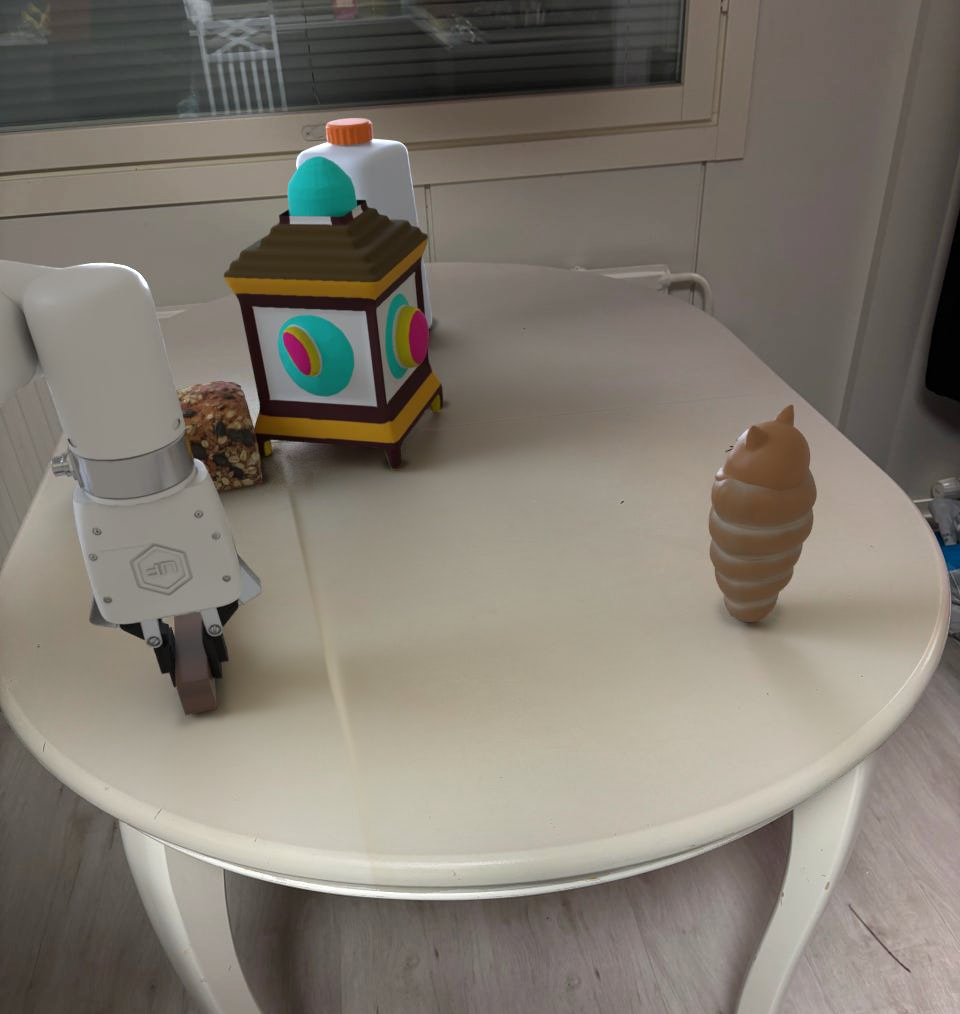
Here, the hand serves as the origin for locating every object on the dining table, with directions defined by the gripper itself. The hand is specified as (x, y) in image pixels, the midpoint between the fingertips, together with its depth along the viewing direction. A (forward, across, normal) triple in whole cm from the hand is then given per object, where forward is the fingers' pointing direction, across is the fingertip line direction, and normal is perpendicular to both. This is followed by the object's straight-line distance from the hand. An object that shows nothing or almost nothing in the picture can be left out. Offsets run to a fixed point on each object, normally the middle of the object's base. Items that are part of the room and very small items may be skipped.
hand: (197, 670), depth 76 cm
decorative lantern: (+2, +19, +43) cm, 47 cm away
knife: (0, 0, +6) cm, 6 cm away
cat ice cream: (+2, +45, -5) cm, 45 cm away
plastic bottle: (+2, +27, +76) cm, 81 cm away
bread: (+2, -2, +37) cm, 37 cm away
